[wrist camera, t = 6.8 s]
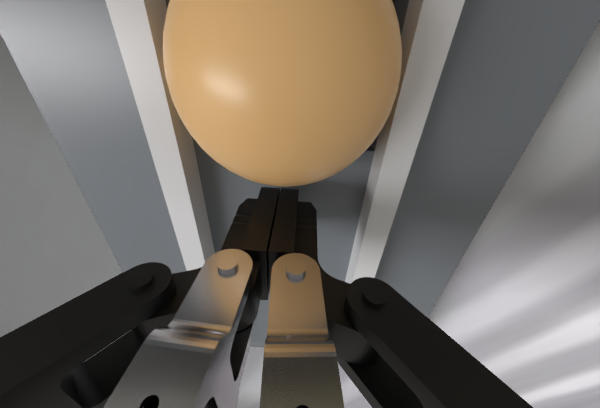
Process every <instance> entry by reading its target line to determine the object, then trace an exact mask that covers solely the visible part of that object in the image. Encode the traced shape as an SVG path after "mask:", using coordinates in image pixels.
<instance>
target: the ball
mask: <svg viewBox="0 0 600 408" xmlns="http://www.w3.org/2000/svg"><path fill="white" fill-rule="evenodd" d="M163 63H164V70H165V77H166V80H167V84H168V88H169V91H170V94H171V98H172V101H173V103H174V106H175V108H176V110H177V112H178V115H179V117H180V118H181V120H182V122H183V124H184V125H185V127H186V128H187V130H188V132H189V133H190V135H191V136H192V137H193V138H194V140H195V141H196V142H197V143H198V144H199V146H200V147H201V148H202V149H203V150H204V151H205V152H206V153H207V154H208V155H209V156H210V157H212V158H213V159H214V160H215V161H216V162H217V163H219V164H220V165H222V166H223V167H225V168H226V169H228V170H229V171H231V172H233V173H235V174H237V175H239V176H241V177H243V178H245V179H248V180H250V181H254V182H257V183H261V184H266V185H272V186H283V187H288V186H300V185H306V184H310V183H314V182H318V181H321V180H323V179H326V178H328V177H330V176H333V175H335V174H336V173H338V172H340V171H341V170H343V169H345V168H346V167H348V166H349V165H350V164H352V163H353V162H354V161H355V160H357V159H358V158H359V157H360V156H361V155H362V154H363V153H364V152H365V151H366V150H367V149H368V147H369V146H370V145H371V144H372V143H373V142H374V140H375V139H376V137H377V136H378V134H379V133H380V131H381V130H382V128H383V126H384V125H385V123H386V121H387V119H388V117H389V115H390V112H391V109H392V106H393V103H394V100H395V97H396V94H397V91H398V87H399V81H400V75H401V66H402V44H401V34H400V27H399V22H398V18H397V14H396V10H395V7H394V4H393V2H392V0H170V1H169V4H168V8H167V13H166V18H165V24H164V30H163Z"/></svg>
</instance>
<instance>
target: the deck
mask: <svg viewBox="0 0 600 408" xmlns="http://www.w3.org/2000/svg"><path fill="white" fill-rule="evenodd" d="M169 1H170V0H0V34H1V36H2V38H3V40H4V41H5V43H6V45H7V47H8V49H9V51H10V53H11V55H12V57H13V59H14V61H15V63H16V65H17V67H18V69H19V71H20V73H21V75H22V77H23V79H24V80H25V82H26V84H27V86H28V88H29V90H30V92H31V94H32V96H33V98H34V100H35V102H36V104H37V106H38V108H39V110H40V112H41V114H42V116H43V117H44V119H45V121H46V123H47V125H48V127H49V129H50V131H51V133H52V135H53V137H54V139H55V141H56V143H57V145H58V147H59V149H60V151H61V153H62V155H63V156H64V158H65V160H66V162H67V164H68V166H69V168H70V170H71V172H72V174H73V176H74V178H75V180H76V182H77V184H78V186H79V188H80V190H81V192H82V193H83V195H84V197H85V199H86V201H87V203H88V205H89V207H90V209H91V211H92V213H93V215H94V217H95V219H96V221H97V223H98V225H99V227H100V229H101V231H102V232H103V234H104V236H105V238H106V240H107V242H108V244H109V246H110V248H111V250H112V252H113V254H114V256H115V258H116V260H117V262H118V264H119V266H120V268H121V269H122V271H123V272H125V271H127V270H129V269H131V268H133V267H135V266H137V265H140V264H144V263H149V262H158V263H163V264H165V265H167V266H168V267H169V268H170V270H171V273H172V274H174V273H179V272H184V271H189V270H194V269H198V268H201V267H203V265H204V263H205V262H206V260H207V259H208V258H209V257H210V256H212V255H213V254H215V253H216V252H219V251H221V248H222V246H223V243H224V241H225V239H226V236H227V234H228V231H229V229H230V226H231V224H232V223H233V219H234V217H235V216H236V212H237V210H238V207H239V205H240V204H241V203H243V202H244V201H245V200H246V199H247V198H253V199H258V196H259V193H260V189H261V187H273V188H280V190H281V188H289V189H299V197H298V201H300V202H311V203H312V204H313V206H314V207H315V209H316V210H317V248H318V261H319V264H320V266H321V268H322V269H323V270H324V271H325V272H326V273H327V274H329V275H330V276H332V277H334V278H336V279H338V280H341V281H344V282H347V283H350V284H351V283H352V282H353V281H354V280H356V279H358V278H362V277H372V278H376V279H379V280H382V281H384V282H385V283H387V284H388V285H390V286H391V287H392V288H393V289H394V290H396V291H397V292H398V293H399V294H400V295H402V296H403V297H404V298H405V299H406V300H407V301H409V302H410V303H411V304H412V305H413V306H414V307H416V308H417V309H418V310H419V311H420V312H421V313H423V314H424V315H425V316H426V317H428V315H429V313H430V312H431V310H432V308H433V307H434V305H435V303H436V301H437V300H438V298H439V296H440V295H441V293H442V291H443V289H444V288H445V286H446V284H447V283H448V281H449V279H450V277H451V276H452V274H453V272H454V270H455V269H456V267H457V265H458V264H459V262H460V260H461V258H462V257H463V255H464V253H465V252H466V250H467V248H468V246H469V245H470V243H471V241H472V239H473V238H474V236H475V234H476V233H477V231H478V229H479V227H480V226H481V224H482V222H483V221H484V219H485V217H486V215H487V214H488V212H489V210H490V209H491V207H492V205H493V203H494V202H495V200H496V198H497V196H498V195H499V193H500V191H501V190H502V188H503V186H504V184H505V183H506V181H507V179H508V178H509V176H510V174H511V172H512V171H513V169H514V167H515V165H516V164H517V162H518V160H519V159H520V157H521V155H522V153H523V152H524V150H525V148H526V147H527V145H528V143H529V141H530V140H531V138H532V136H533V135H534V133H535V131H536V129H537V128H538V126H539V124H540V122H541V121H542V119H543V117H544V116H545V114H546V112H547V110H548V109H549V107H550V105H551V104H552V102H553V100H554V98H555V97H556V95H557V93H558V91H559V90H560V88H561V86H562V85H563V83H564V81H565V79H566V78H567V76H568V74H569V73H570V71H571V69H572V67H573V66H574V64H575V62H576V61H577V59H578V57H579V55H580V54H581V52H582V50H583V48H584V47H585V45H586V43H587V42H588V40H589V38H590V36H591V35H592V33H593V31H594V30H595V28H596V26H597V24H598V23H599V21H600V0H396V2H395V10H396V14H397V18H398V22H399V27H400V34H401V44H402V66H401V75H400V81H399V87H398V91H397V94H396V97H395V100H394V103H393V106H392V109H391V112H390V115H389V117H388V119H387V121H386V123H385V125H384V126H383V128H382V130H381V131H380V133H379V134H378V136H377V137H376V139H375V140H374V142H373V143H372V144H371V145H370V146H369V147H368V149H367V150H366V151H365V152H364V153H363V154H362V155H361V156H360V157H359V158H358V159H357V160H355V161H354V162H353V163H352V164H350V165H349V166H348V167H346V168H345V169H343V170H341V171H340V172H338V173H336V174H335V175H333V176H330V177H328V178H326V179H323V180H321V181H318V182H314V183H310V184H306V185H300V186H288V187H283V186H272V185H266V184H261V183H257V182H254V181H250V180H248V179H245V178H243V177H241V176H239V175H237V174H235V173H233V172H231V171H229V170H228V169H226V168H225V167H223V166H222V165H220V164H219V163H217V162H216V161H215V160H214V159H213V158H212V157H210V156H209V155H208V154H207V153H206V152H205V151H204V150H203V149H202V148H201V147H200V146H199V144H198V143H197V142H196V141H195V140H194V138H193V137H192V136H191V135H190V133H189V132H188V130H187V128H186V127H185V125H184V124H183V122H182V120H181V118H180V117H179V115H178V112H177V110H176V108H175V106H174V103H173V101H172V98H171V94H170V91H169V88H168V84H167V80H166V77H165V70H164V63H163V30H164V24H165V18H166V13H167V8H168V4H169ZM269 300H270V290H269V296H268V300H260V304H259V309H258V314H257V322H256V326H255V330H254V334H253V337H252V341H251V345H250V346H253V347H265V340H266V338H267V328H268V314H269Z"/></svg>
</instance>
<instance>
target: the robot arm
mask: <svg viewBox="0 0 600 408" xmlns="http://www.w3.org/2000/svg"><path fill="white" fill-rule="evenodd" d="M298 197H299V189H289V188H281V190H280V188H273V187H261V189H260V193H259V196H258V199H253V198H247V199H246V200H245V201H244V202H243V203H241V204H240V205H239V207H238V210H237V212H236V216H235V217H234V219H233V223H232V224H231V226H230V229H229V231H228V234H227V236H226V239H225V241H224V243H223V246H222V248H221V251H219V252H216V253H215V254H213V255H212V256H210V257H209V258H208V259H207V260H206V262H205V263H204V265H203V267H201V268H198V269H194V270H189V271H184V272H179V273H174V274H172V273H171V270H170V268H169V267H168V266H167V265H165V264H163V263H158V262H149V263H144V264H140V265H137V266H135V267H133V268H131V269H129V270H127V271H125V272H123V273H121V274H119V275H118V276H116V277H114V278H112V279H110V280H108V281H106V282H104V283H102V284H101V285H99V286H97V287H95V288H93V289H91V290H89V291H87V292H85V293H84V294H82V295H80V296H78V297H76V298H74V299H72V300H70V301H68V302H67V303H65V304H63V305H61V306H59V307H57V308H55V309H53V310H51V311H50V312H48V313H46V314H44V315H42V316H40V317H38V318H36V319H34V320H33V321H31V322H29V323H27V324H25V325H23V326H21V327H19V328H17V329H16V330H14V331H12V332H10V333H8V334H6V335H4V336H2V337H0V408H237V403H238V393H239V387H240V382H241V378H242V374H243V371H244V367H245V363H246V360H247V356H248V352H249V349H250V345H251V341H252V337H253V334H254V330H255V326H256V322H257V314H258V309H259V304H260V300H268V296H269V290H270V300H269V314H268V328H267V338H266V340H265V347H264V358H263V371H262V384H261V397H260V408H344V403H343V396H342V389H341V382H340V375H339V368H338V363H339V364H340V366H341V367H342V368H343V370H344V371H345V372H346V374H347V375H348V376H349V378H350V379H351V380H352V381H353V383H354V384H355V385H356V387H357V388H358V389H359V391H360V392H361V393H362V395H363V396H364V397H365V398H366V400H367V401H368V402H369V404H370V405H371V406H372V408H533V407H532V406H531V405H529V404H528V403H527V402H526V401H525V400H524V399H522V398H521V397H520V396H519V395H518V394H516V393H515V392H514V391H513V390H512V389H511V388H509V387H508V386H507V385H506V384H505V383H504V382H502V381H501V380H500V379H499V378H498V377H497V376H495V375H494V374H493V373H492V372H491V371H490V370H488V369H487V368H486V367H485V366H484V365H482V364H481V363H480V362H479V361H478V360H477V359H475V358H474V357H473V356H472V355H471V354H470V353H468V352H467V351H466V350H465V349H464V348H463V347H461V346H460V345H459V344H458V343H457V342H455V341H454V340H453V339H452V338H451V337H450V336H448V335H447V334H446V333H445V332H444V331H443V330H441V329H440V328H439V327H438V326H437V325H436V324H434V323H433V322H432V321H431V320H430V319H428V318H427V317H426V316H425V315H424V314H423V313H421V312H420V311H419V310H418V309H417V308H416V307H414V306H413V305H412V304H411V303H410V302H409V301H407V300H406V299H405V298H404V297H403V296H402V295H400V294H399V293H398V292H397V291H396V290H394V289H393V288H392V287H391V286H390V285H388V284H387V283H385V282H384V281H382V280H379V279H376V278H372V277H362V278H358V279H356V280H354V281H353V282H352V283H351V284H350V283H347V282H344V281H341V280H338V279H336V278H334V277H332V276H330V275H329V274H327V273H326V272H325V271H324V270H323V269H322V268H321V266H320V264H319V261H318V248H317V210H316V209H315V207H314V206H313V204H312V203H311V202H300V201H298ZM130 330H131V331H130ZM129 331H130V332H129ZM127 332H128V333H127ZM126 333H127V334H126ZM124 334H125V335H124ZM123 335H124V336H123ZM121 336H122V337H121ZM120 337H121V338H120ZM118 338H119V339H118ZM117 339H118V340H117ZM115 340H116V341H115ZM114 341H115V342H114ZM112 342H113V343H112ZM111 343H112V344H111ZM109 344H110V345H109ZM108 345H109V346H108ZM106 346H107V347H106ZM105 347H106V348H105ZM103 348H104V349H103ZM102 349H103V350H102ZM100 350H101V351H100ZM99 351H100V352H99ZM97 352H98V353H97ZM96 353H97V354H96ZM95 354H96V355H95ZM93 355H94V356H93ZM92 356H93V357H92ZM90 357H91V358H90ZM89 358H90V359H89ZM87 359H88V360H87ZM86 360H87V361H86ZM84 361H85V362H84Z"/></svg>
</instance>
